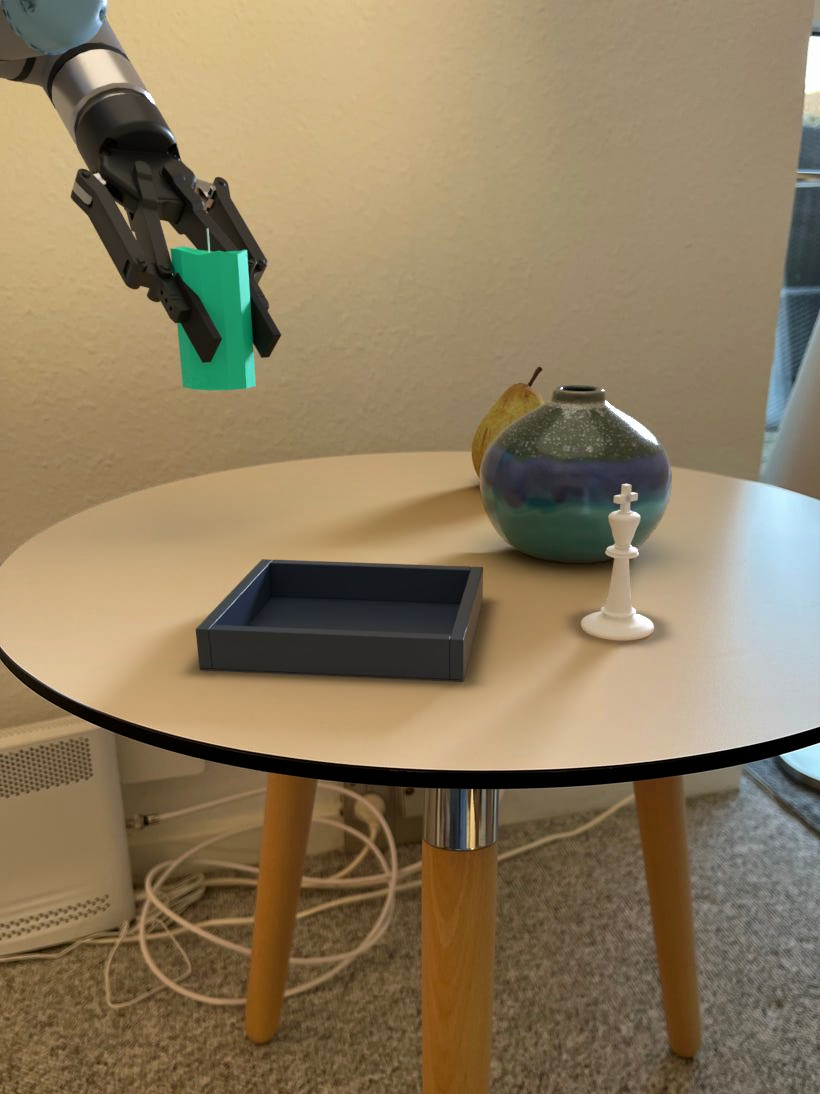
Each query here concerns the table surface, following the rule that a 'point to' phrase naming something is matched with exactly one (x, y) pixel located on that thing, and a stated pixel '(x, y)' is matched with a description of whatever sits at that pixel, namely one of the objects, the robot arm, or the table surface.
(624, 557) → the chess piece
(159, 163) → the robot arm
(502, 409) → the fruit
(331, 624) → the tray
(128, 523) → the table surface
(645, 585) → the table surface
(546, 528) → the vase
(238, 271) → the candle
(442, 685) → the table surface
